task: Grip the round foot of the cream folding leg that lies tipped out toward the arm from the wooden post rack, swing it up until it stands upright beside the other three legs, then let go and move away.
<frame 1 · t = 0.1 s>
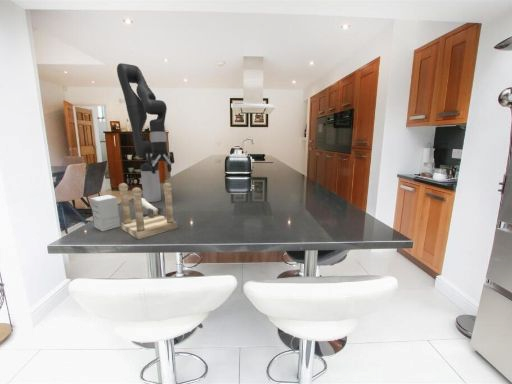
hand: (161, 172, 139), 17 cm above the kitchen island, tool pointing down, fingers open, 8 cm apart
folding leg: (147, 205, 119), point 6 cm above the kitchen island, hinge at 80.0°
wooden post rack: (149, 228, 108), on the kitchen island
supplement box: (107, 227, 109), on the kitchen island
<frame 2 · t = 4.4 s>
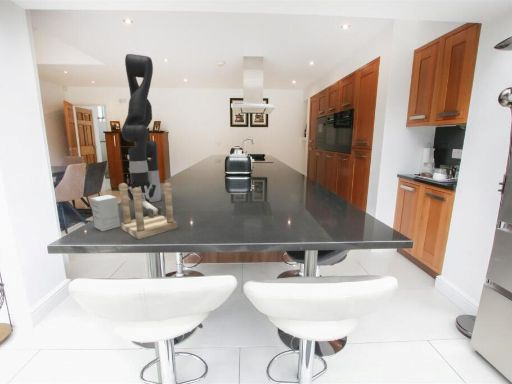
hand: (142, 207, 123), 4 cm above the kitchen island, tool pointing down, fingers closed on folding leg, 3 cm apart
folding leg: (147, 205, 119), point 6 cm above the kitchen island, hinge at 80.0°, touching gripper
everything else where it was.
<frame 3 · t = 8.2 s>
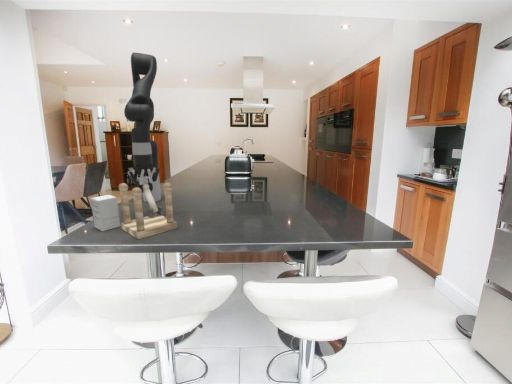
hand: (145, 191, 119), 12 cm above the kitchen island, tool pointing down, fingers closed on folding leg, 3 cm apart
folding leg: (149, 197, 117), point 10 cm above the kitchen island, hinge at 38.7°, touching gripper
everything else where it was.
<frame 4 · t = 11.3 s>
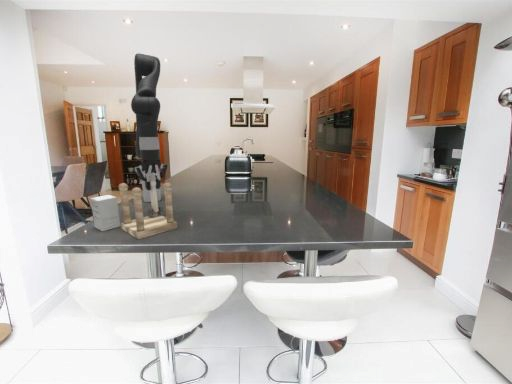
hand: (153, 189, 113), 14 cm above the kitchen island, tool pointing down, fingers closed on folding leg, 3 cm apart
folding leg: (153, 195, 114), point 12 cm above the kitchen island, hinge at 3.6°, touching gripper
everything else where it was.
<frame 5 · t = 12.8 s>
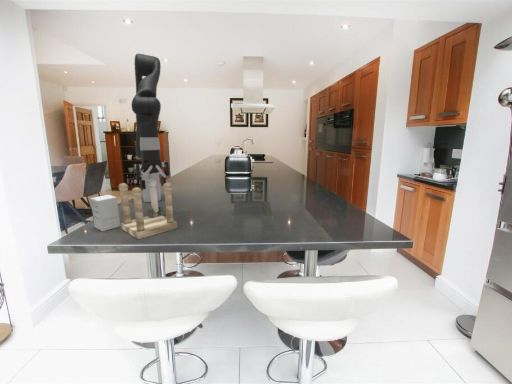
hand: (153, 187, 112), 15 cm above the kitchen island, tool pointing down, fingers open, 8 cm apart
folding leg: (153, 195, 114), point 12 cm above the kitchen island, hinge at 2.9°
everything else where it was.
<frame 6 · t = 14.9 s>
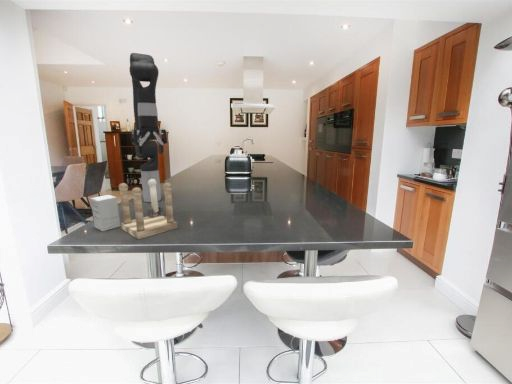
hand: (151, 154, 114), 29 cm above the kitchen island, tool pointing down, fingers open, 8 cm apart
nothing on the kitchen island moved.
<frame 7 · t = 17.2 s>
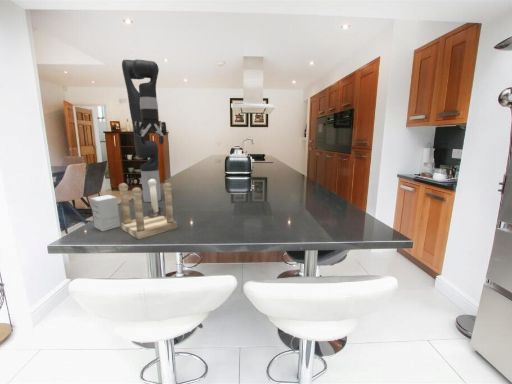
hand: (152, 144, 124), 32 cm above the kitchen island, tool pointing down, fingers open, 8 cm apart
nothing on the kitchen island moved.
at the end: folding leg at +3° (first picture: +80°); the gripper is holding nothing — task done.
